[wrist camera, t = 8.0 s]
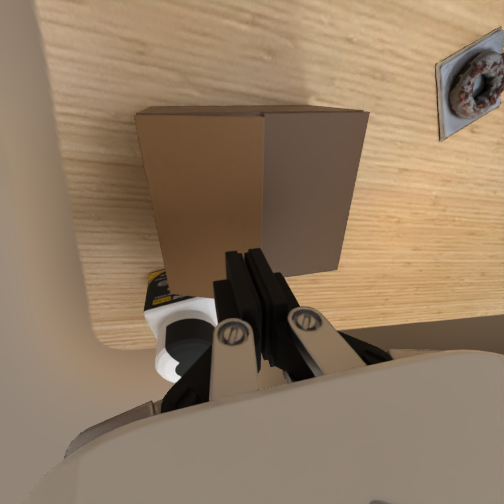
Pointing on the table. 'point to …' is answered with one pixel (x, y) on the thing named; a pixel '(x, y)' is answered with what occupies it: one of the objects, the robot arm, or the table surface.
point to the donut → (470, 83)
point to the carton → (301, 179)
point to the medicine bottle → (177, 326)
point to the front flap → (203, 192)
